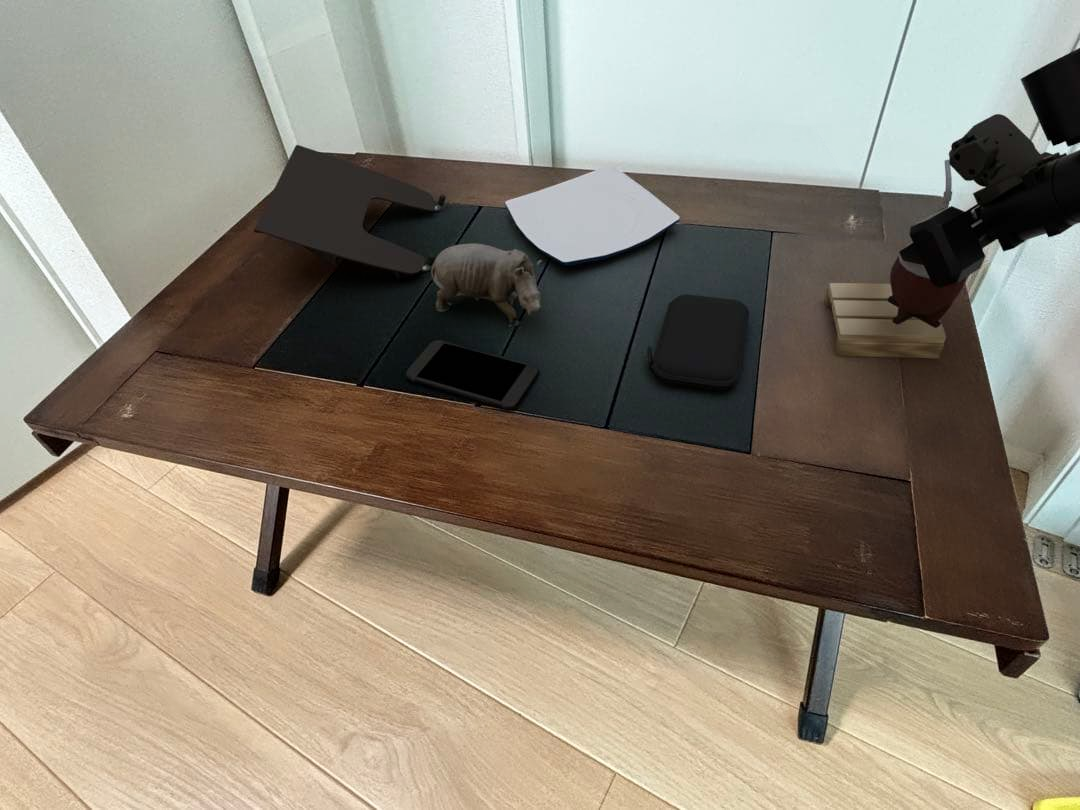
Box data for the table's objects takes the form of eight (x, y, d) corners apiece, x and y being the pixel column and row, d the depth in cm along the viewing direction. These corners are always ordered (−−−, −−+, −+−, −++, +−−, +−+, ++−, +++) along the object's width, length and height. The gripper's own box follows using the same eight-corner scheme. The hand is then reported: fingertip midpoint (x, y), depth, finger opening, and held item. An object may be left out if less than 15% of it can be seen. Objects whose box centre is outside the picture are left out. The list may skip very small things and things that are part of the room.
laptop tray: (415, 321, 102) (433, 271, 96) (248, 272, 96) (255, 216, 90) (432, 231, 118) (448, 183, 112) (289, 184, 112) (298, 131, 106)
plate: (689, 235, 101) (691, 218, 99) (562, 285, 95) (560, 268, 93) (614, 175, 114) (613, 160, 112) (498, 216, 108) (495, 200, 106)
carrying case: (662, 304, 91) (639, 385, 81) (663, 285, 88) (639, 365, 79) (749, 314, 88) (735, 399, 78) (752, 295, 86) (738, 379, 76)
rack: (919, 302, 87) (926, 282, 85) (938, 358, 80) (947, 338, 78) (824, 300, 88) (829, 281, 86) (835, 355, 82) (840, 335, 80)
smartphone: (434, 341, 89) (433, 335, 89) (542, 370, 84) (542, 364, 83) (402, 380, 85) (400, 375, 84) (514, 414, 80) (513, 408, 79)
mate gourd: (920, 341, 75) (973, 211, 65) (858, 305, 80) (899, 179, 70) (964, 315, 78) (1022, 187, 68) (902, 282, 83) (947, 158, 73)
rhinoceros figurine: (443, 258, 97) (480, 193, 85) (523, 319, 99) (571, 265, 87) (412, 295, 94) (446, 233, 81) (495, 359, 95) (542, 308, 83)
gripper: (1099, 66, 62) (945, 144, 77) (965, 137, 56) (824, 207, 71) (1150, 182, 63) (987, 237, 78) (1023, 265, 57) (872, 308, 72)
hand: (920, 244), depth 74 cm, fingers closed on mate gourd, 5 cm apart
